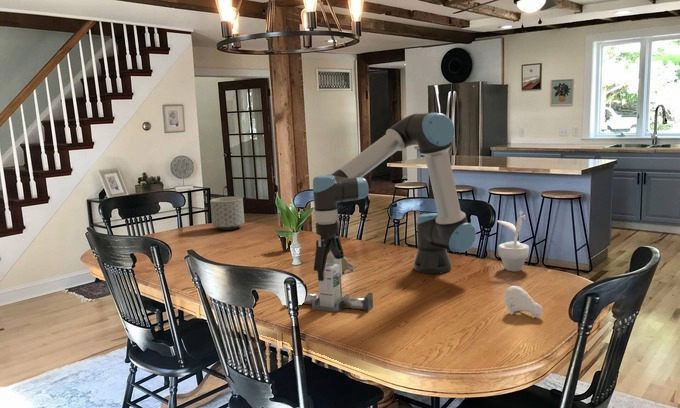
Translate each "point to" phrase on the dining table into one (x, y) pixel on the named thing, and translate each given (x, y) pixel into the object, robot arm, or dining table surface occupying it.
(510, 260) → the potted plant
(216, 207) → the planter
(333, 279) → the syrup box
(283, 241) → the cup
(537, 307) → the white lumpy piece
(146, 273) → the dining table surface
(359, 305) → the coupling cradle
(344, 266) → the ceramic mug
